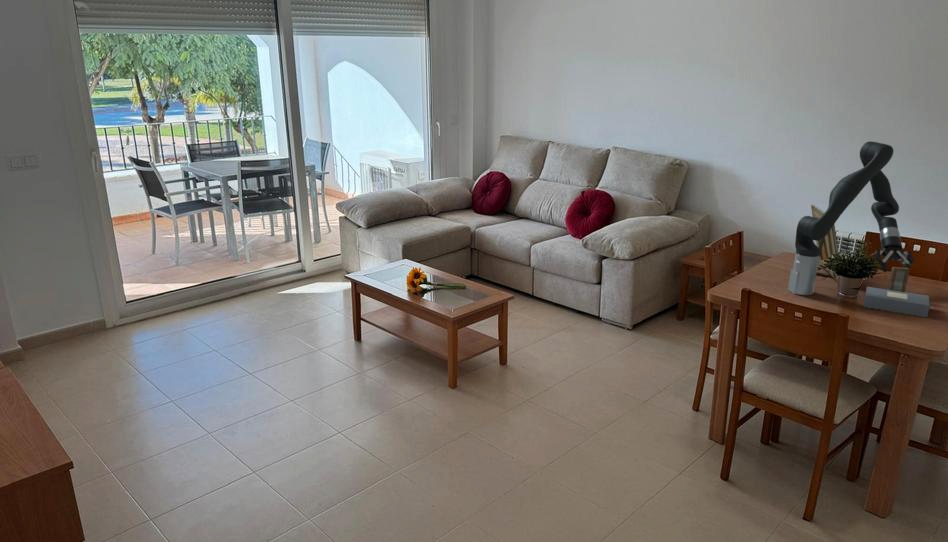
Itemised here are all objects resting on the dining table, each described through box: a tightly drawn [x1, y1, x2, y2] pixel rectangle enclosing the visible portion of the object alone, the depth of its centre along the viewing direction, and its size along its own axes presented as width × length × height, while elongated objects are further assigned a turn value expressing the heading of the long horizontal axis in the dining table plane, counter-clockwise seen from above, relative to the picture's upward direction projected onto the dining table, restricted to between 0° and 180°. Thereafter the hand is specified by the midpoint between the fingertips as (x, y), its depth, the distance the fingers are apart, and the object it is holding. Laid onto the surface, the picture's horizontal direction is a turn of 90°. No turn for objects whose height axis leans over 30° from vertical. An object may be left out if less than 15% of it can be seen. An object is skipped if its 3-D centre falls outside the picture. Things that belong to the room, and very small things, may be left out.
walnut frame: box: [887, 266, 911, 292], centre depth 288 cm, size 6×6×13 cm
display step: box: [863, 286, 931, 318], centre depth 277 cm, size 22×14×5 cm, turn 59°
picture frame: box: [810, 204, 839, 282], centre depth 317 cm, size 33×10×30 cm, turn 168°
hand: (896, 272), depth 290 cm, fingers open, 8 cm apart
